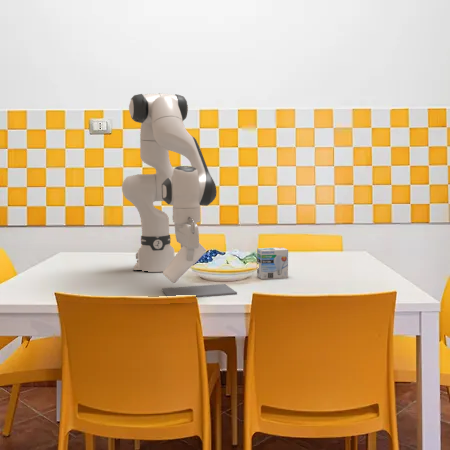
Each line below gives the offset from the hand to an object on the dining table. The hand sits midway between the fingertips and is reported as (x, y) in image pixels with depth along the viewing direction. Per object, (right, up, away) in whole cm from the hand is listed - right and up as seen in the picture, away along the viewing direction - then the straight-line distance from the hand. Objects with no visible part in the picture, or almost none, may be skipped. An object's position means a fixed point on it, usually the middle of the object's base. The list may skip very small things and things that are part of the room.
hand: (187, 259), depth 169 cm
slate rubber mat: (+3, -11, +2) cm, 12 cm away
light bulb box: (+30, -9, +26) cm, 41 cm away
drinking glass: (-6, -6, -1) cm, 9 cm away
